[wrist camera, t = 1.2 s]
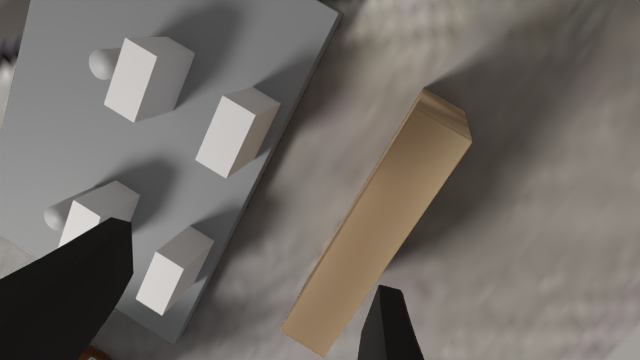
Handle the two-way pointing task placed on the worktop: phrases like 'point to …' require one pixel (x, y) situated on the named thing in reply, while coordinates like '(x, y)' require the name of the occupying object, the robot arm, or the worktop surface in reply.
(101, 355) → the food container
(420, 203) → the oak block
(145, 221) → the board
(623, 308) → the worktop surface
